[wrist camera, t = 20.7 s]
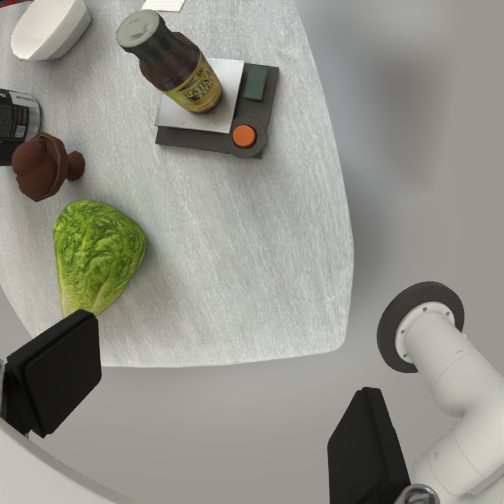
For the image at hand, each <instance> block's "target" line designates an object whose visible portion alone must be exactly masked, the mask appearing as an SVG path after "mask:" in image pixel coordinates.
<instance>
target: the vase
mask: <svg viewBox="0 0 504 504" xmlns="http://www.w3.org/2000/svg"><path fill="white" fill-rule="evenodd" d="M25 1H34V0H0V8H2V7H5V6H9V5H12V4H16V3H21V2H25Z"/></svg>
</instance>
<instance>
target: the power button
mask: <svg viewBox="0 0 504 504" xmlns="http://www.w3.org/2000/svg"><path fill="white" fill-rule="evenodd" d="M233 140H234V142H235V143H236V144H238V145H239V146H241V147H248V146H250V145H252V144H253V143H254V141H255V133H254V131H253V130H252V128H250V127H249V126H246V125H241V126H238V127H237V128H236V129H235V130H234V132H233Z"/></svg>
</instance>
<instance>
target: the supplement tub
mask: <svg viewBox="0 0 504 504" xmlns="http://www.w3.org/2000/svg"><path fill="white" fill-rule="evenodd" d="M39 126H40V109H39V106H38V103H37V101H36V100H35V99H34V97H32V96H31V95H29V94H26V93H21V92H16V91H10V90H5V89H0V166H12V157H13V153H14V152H15V150H16V149H17V147H18V146H20V145H21V144H23V143H24V142H26V141H29V139H31V138H33V137H34V136H36V135H38V131H39Z"/></svg>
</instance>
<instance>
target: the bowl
mask: <svg viewBox="0 0 504 504" xmlns="http://www.w3.org/2000/svg"><path fill="white" fill-rule="evenodd" d="M90 22H91V16H90V13H89V11H88V9H87V7H86V5H85V3H84V0H34V1H33V2H32V3H31V4H30V6H29V7H28V8H27V9H26V11H25V12H24V14H23V15H22V17H21V18H20V20H19V21H18V23H17V25H16V27H15V29H14V30H13V32H12V34H11V48H12V51H13V54H14V56H16V57H17V58H18V59H20V60H21V61H29V62H30V61H38V60H46V59H56V58H61V57H62V56H63V55H64V54H65V53H66V52H68V51H69V50H70V48H71V47H72V46H73V45H74V44H75V43H76V42H77V41H78V40H79V38H80V37H81V36H82V34H83V33H84V32H85V30H86V29H87V27H88V25H89V24H90Z"/></svg>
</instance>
